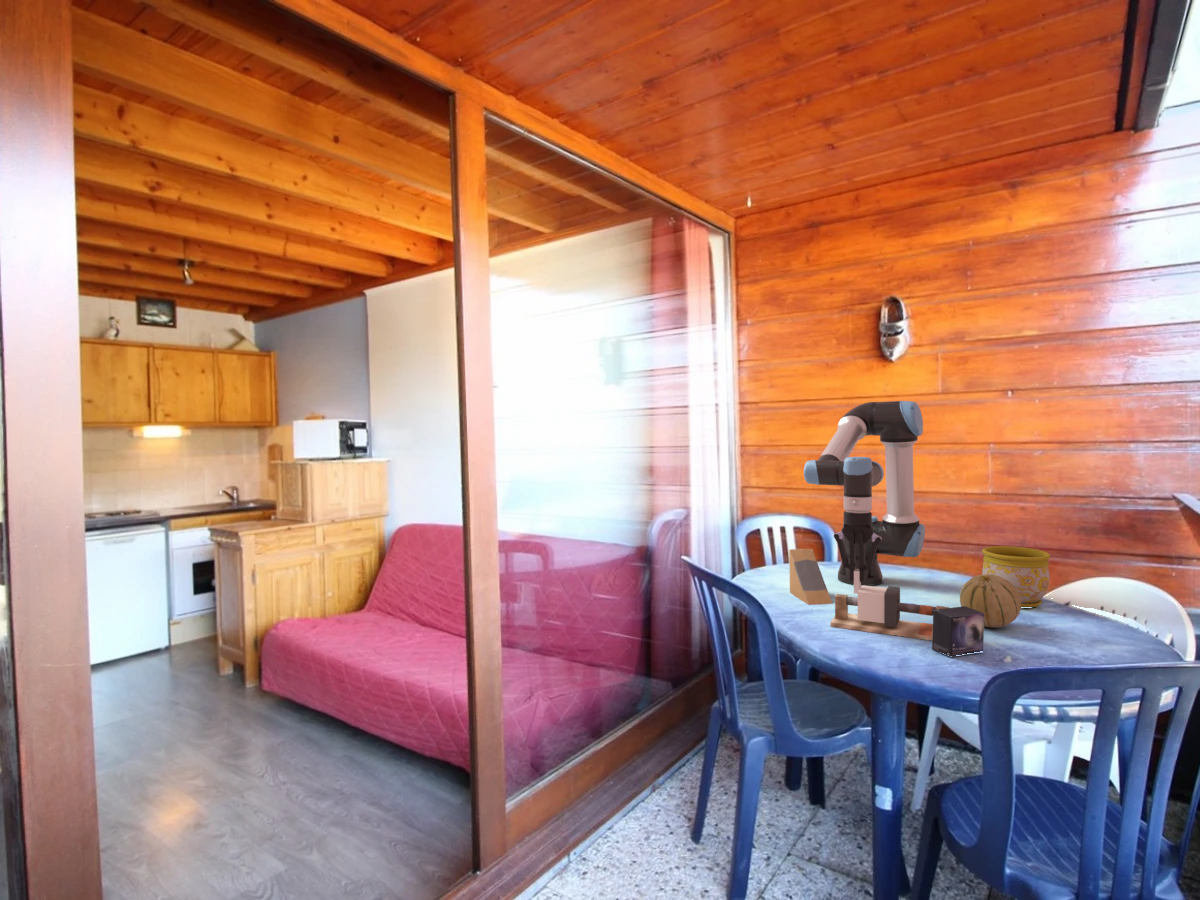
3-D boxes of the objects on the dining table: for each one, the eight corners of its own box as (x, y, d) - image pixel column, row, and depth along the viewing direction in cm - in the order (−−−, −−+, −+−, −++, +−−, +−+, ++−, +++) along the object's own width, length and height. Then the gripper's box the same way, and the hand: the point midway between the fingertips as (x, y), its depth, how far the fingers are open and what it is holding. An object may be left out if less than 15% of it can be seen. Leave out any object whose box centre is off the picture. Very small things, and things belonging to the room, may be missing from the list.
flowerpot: (1038, 615, 191) (1038, 560, 190) (972, 602, 204) (972, 551, 204) (1057, 603, 202) (1058, 551, 201) (994, 592, 216) (994, 543, 215)
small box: (951, 658, 159) (951, 616, 158) (930, 649, 165) (931, 609, 164) (985, 653, 162) (985, 612, 161) (963, 645, 168) (964, 605, 167)
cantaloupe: (1019, 622, 184) (1020, 570, 184) (1022, 638, 172) (1022, 582, 171) (960, 615, 192) (960, 565, 191) (958, 629, 179) (959, 576, 179)
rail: (830, 626, 184) (830, 599, 184) (837, 615, 194) (837, 590, 193) (949, 643, 169) (950, 614, 169) (951, 631, 178) (951, 603, 178)
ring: (884, 625, 178) (884, 593, 177) (888, 616, 186) (888, 585, 185) (896, 627, 176) (896, 594, 176) (899, 618, 184) (900, 587, 184)
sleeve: (857, 619, 182) (857, 591, 181) (862, 612, 189) (862, 585, 188) (884, 623, 178) (884, 594, 178) (888, 615, 185) (888, 588, 185)
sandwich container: (808, 605, 205) (807, 558, 204) (788, 592, 220) (788, 549, 220) (833, 604, 206) (833, 557, 205) (812, 591, 221) (812, 548, 221)
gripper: (831, 511, 184) (830, 592, 185) (880, 514, 177) (879, 598, 179) (836, 507, 191) (836, 586, 192) (884, 510, 184) (883, 592, 185)
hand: (857, 592), depth 185 cm, fingers closed
